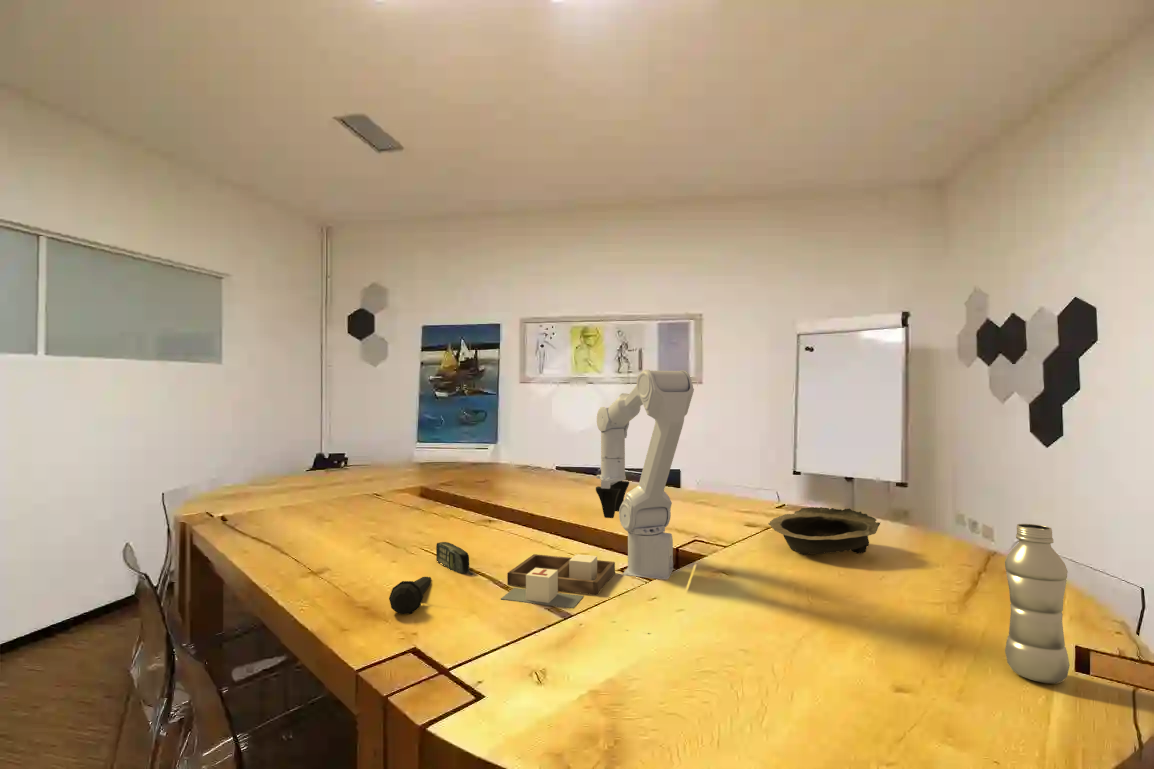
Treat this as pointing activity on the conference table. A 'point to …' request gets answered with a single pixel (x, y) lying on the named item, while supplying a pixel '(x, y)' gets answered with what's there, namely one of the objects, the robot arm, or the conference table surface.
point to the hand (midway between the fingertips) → (613, 514)
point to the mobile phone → (453, 557)
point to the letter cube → (541, 585)
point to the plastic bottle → (1036, 607)
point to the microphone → (408, 595)
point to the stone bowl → (826, 530)
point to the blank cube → (583, 567)
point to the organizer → (562, 574)
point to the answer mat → (558, 601)
